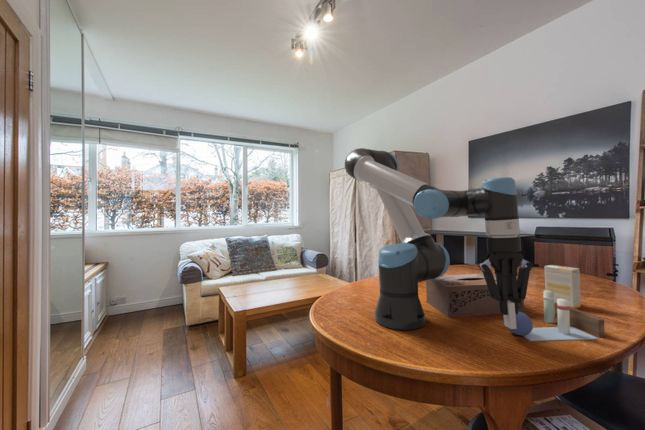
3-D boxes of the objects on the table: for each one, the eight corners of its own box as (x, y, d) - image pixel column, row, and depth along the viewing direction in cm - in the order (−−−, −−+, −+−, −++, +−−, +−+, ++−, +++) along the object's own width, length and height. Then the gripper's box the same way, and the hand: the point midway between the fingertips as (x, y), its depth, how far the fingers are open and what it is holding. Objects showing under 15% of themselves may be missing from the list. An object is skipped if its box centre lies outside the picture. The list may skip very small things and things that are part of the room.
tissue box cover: (492, 299, 101) (491, 272, 101) (524, 313, 86) (523, 282, 86) (426, 303, 99) (426, 276, 99) (448, 318, 84) (447, 286, 84)
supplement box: (582, 307, 89) (580, 268, 89) (573, 309, 87) (572, 269, 87) (553, 300, 97) (552, 264, 97) (544, 302, 95) (543, 265, 95)
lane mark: (530, 341, 68) (530, 340, 68) (511, 329, 75) (511, 328, 75) (598, 339, 68) (598, 338, 67) (572, 327, 74) (572, 326, 74)
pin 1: (548, 323, 77) (547, 292, 77) (541, 320, 80) (540, 290, 80) (557, 323, 77) (556, 292, 77) (550, 320, 80) (549, 290, 80)
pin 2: (563, 335, 70) (562, 301, 70) (555, 331, 72) (554, 298, 72) (572, 335, 70) (572, 301, 70) (564, 331, 72) (563, 298, 72)
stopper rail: (598, 337, 68) (598, 319, 68) (555, 317, 81) (554, 302, 81) (604, 337, 68) (604, 319, 68) (559, 317, 81) (559, 302, 81)
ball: (511, 325, 68) (528, 310, 69) (495, 317, 74) (511, 304, 75) (526, 344, 68) (543, 328, 69) (509, 334, 74) (525, 321, 75)
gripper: (485, 238, 67) (492, 333, 66) (539, 235, 66) (547, 331, 65) (470, 237, 74) (477, 322, 73) (518, 234, 74) (526, 320, 73)
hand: (510, 326), depth 69 cm, fingers closed
